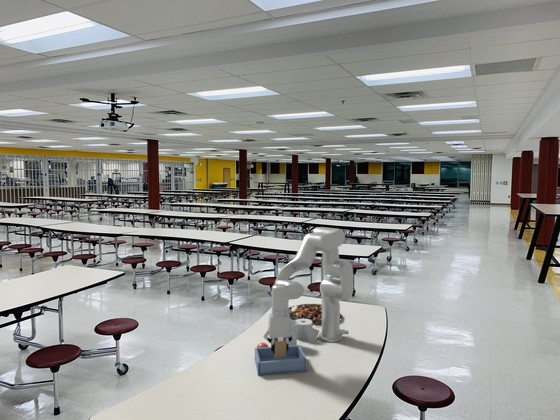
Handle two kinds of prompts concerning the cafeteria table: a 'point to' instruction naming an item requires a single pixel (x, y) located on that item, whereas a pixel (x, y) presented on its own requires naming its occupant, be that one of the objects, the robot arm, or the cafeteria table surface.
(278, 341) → the brown and white block
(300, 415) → the cafeteria table surface
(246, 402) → the cafeteria table surface
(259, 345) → the red glossy sphere
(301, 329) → the toilet tissue
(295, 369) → the tub
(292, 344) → the cup
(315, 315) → the food dish
